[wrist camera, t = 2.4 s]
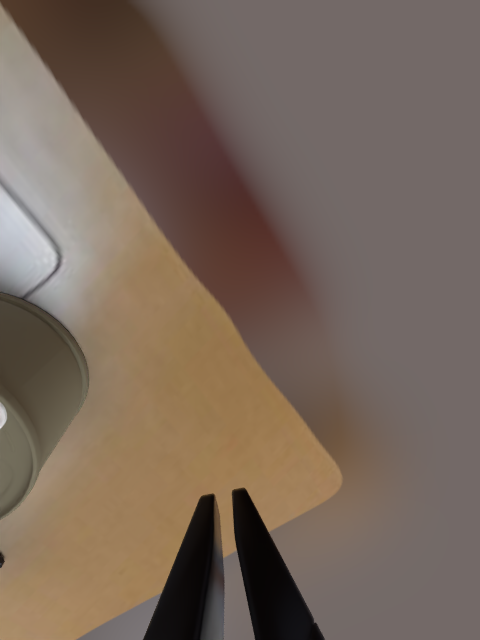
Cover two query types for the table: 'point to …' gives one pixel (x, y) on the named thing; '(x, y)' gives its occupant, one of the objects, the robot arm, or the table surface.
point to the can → (34, 394)
